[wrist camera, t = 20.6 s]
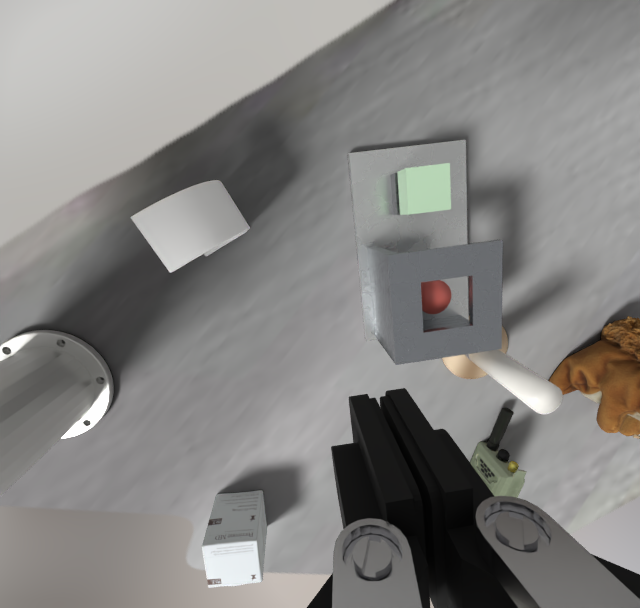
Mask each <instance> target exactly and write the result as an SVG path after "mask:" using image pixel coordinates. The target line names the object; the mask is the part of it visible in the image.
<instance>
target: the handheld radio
mask: <svg viewBox="0 0 640 608" xmlns="http://www.w3.org/2000/svg"><path fill="white" fill-rule="evenodd" d="M512 415H513V411H511V410H510V409H508V408H502V411H501V413H500V415H499V417H498V420H497V422H496V424H495V427H494V429H493V431H492V434H491V435H492V436H491V438H490V440H489V441H488V443H484V442H479V443H478V445H477V447H476V450H475V452H474V454H473V457H472V459H471V461H470V464H471V465H472V466H473V468H474V469H475V470H476V472H477V473H478V474H479V476H480V477H481V479H482V480H483V481H484V483H485V484H486V485H487V487H488V488H489V489H490V491H491V492H492V493H493V495H494V496H512V497H516V498H517V497H518V495H519V493H520V491H521V489H522V487H523V485H524V482H525V479H524V477H525V474H526V471H523V470H517V469H518V467H519V466H518V464H517V463H516V462H514V461H511V462H510V463H509V462H508V460H509V456H510V455H509V453H508V451H506V450H504V449H501V450H499V451H498V450H497V449H498V447H499V442H500V440H501V439H502V437H503V435H504V433H505V431H506V428H507V426H508V424H509V422H510V420H511V417H512Z"/></svg>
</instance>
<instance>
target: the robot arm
mask: <svg viewBox="0 0 640 608" xmlns="http://www.w3.org/2000/svg"><path fill="white" fill-rule="evenodd" d="M113 394H114V384H113V379H112V375H111V372H110V370H109V368H108V366H107V363H106V362H105V361H104V359H103V358H102V357H101V355H100V354H99V353H98V352H97V351H96V350H95V349H94V348H93V347H92V346H90V345H89V344H87V343H86V342H84V341H83V340H81V339H79V338H77V337H75V336H73V335H70V334H67V333H64V332H60V331H53V330H35V331H30V332H26V333H23V334H21V335H18V336H16V337H13V338H11V339H10V340H8V341H6V342H4V343H3V344H2V345H1V346H0V497H1V496H2V495H3V494H4V493H5V492H6V491H7V490H8V489H9V488H10V487H11V486H12V485H14V484H15V483H16V482H17V481H18V480H19V479H20V478H21V477H22V476H23V475H24V474H25V473H26V472H27V471H28V470H29V469H30V468H31V467H32V466H33V465H34V464H35V463H36V462H37V461H38V460H39V459H40V458H41V457H42V456H44V455H45V454H46V453H47V452H48V451H49V450H50V449H51V448H52V447H53V446H54V445H55V444H56V443H57V442H58V441H59V440H60V439H61V438H69V437H73V436H77V435H79V434H82V433H84V432H86V431H88V430H89V429H91V428H92V427H94V426H95V425H96V424H97V423H98V422H99V421H100V420H101V419H102V418H103V416H104V415H105V414H106V412H107V411H108V409H109V407H110V405H111V403H112V399H113ZM349 406H350V415H351V424H352V433H353V442H354V443H351V444H344V445H338V446H332V447H331V450H332V458H333V466H334V473H335V480H336V487H337V493H338V500H339V506H340V511H341V517H342V523H343V529H344V530H343V531H341V533H340V534H339V536H338V538H337V540H336V542H335V547H334V555H333V573H332V575H331V576H330V577H329V579H328V580H327V581H326V583H325V584H324V585H323V587H322V588H321V590H320V591H319V592H318V593H317V595H316V596H315V598H314V599H313V600H312V601H311V603H310V604H309V605H308V607H307V608H430V598H431V601H432V604H433V606H434V608H640V575H639V574H637V573H634V572H632V571H630V570H627V569H625V568H623V567H620V566H618V565H616V564H613V563H611V562H608V561H606V560H604V559H601V558H599V557H597V556H594V555H592V554H590V553H589V552H588V551H587V550H586V549H585V548H584V547H583V546H582V545H581V544H579V543H578V542H577V541H576V540H575V539H574V538H573V537H572V536H571V535H570V534H569V533H568V532H566V531H565V530H564V529H563V528H562V527H561V526H560V525H559V524H558V523H557V522H556V521H555V520H554V519H552V518H551V517H550V516H549V515H548V514H547V513H546V512H544V511H543V510H542V509H540V508H539V507H538V506H536V505H534V504H532V503H530V502H528V501H526V500H523V499H519V498H516V497H512V496H494V495H493V493H492V492H491V491H490V489H489V488H488V487H487V485H486V484H485V483H484V481H483V480H482V479H481V477H480V476H479V474H478V473H477V472H476V470H475V469H474V468H473V466H472V465H471V464H470V462H469V461H468V460H467V458H466V457H465V455H464V454H463V453H462V451H461V450H460V449H459V447H458V446H457V445H456V443H455V442H454V440H453V439H452V438H451V436H450V435H449V434H448V432H447V431H446V430H444V429H438V430H433V428H432V427H431V425H430V424H429V422H428V421H427V420H426V418H425V417H424V415H423V414H422V412H421V411H420V409H419V408H418V406H417V405H416V403H415V402H414V400H413V399H412V397H411V396H410V394H409V393H408V392H407V390H406V389H405V388H403V389H396V390H390V391H386V396H383V397H380V406H379V404H378V402H377V400H376V398H370V399H369V396H368V394H364V395H357V396H351V397H349ZM380 408H381V409H380Z"/></svg>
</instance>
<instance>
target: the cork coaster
mask: <svg viewBox="0 0 640 608" xmlns="http://www.w3.org/2000/svg"><path fill="white" fill-rule="evenodd" d="M469 321H470V315H469ZM507 348H508V338H507V334H506V331H505V329H504V328H503V326H502V349H499V350H500V351H502V352H503V353H505V354H506V352H507ZM442 360H443V362H444V364H445V365H446V367H447V368H448V369H449V370H450V371H451V372H452V373H453V374H455V375H457V376H459V377H461V378H466V379H476V378H481V377H484V376H486V375H488V374H487V373H486V372H485V371H483V370H482V369H481V368H480V367H478V366H477V365H476V364H475V363H473V362H472V361H471V360H469V359H468V358H467V357H466V356H465V355H458V356H452V357H445V358H442Z"/></svg>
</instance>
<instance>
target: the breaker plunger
mask: <svg viewBox="0 0 640 608" xmlns="http://www.w3.org/2000/svg"><path fill="white" fill-rule="evenodd" d="M421 294H422V311H424V312H425V313H428V314H438V313H440V312H442V311H444V310H445V309H446V308H447V307H448V305H449V303H450V301H451V290H450V288H449V286H448V285H447V284H446V283H445V282H443V281H441V280H436V281H428V282H421Z"/></svg>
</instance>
